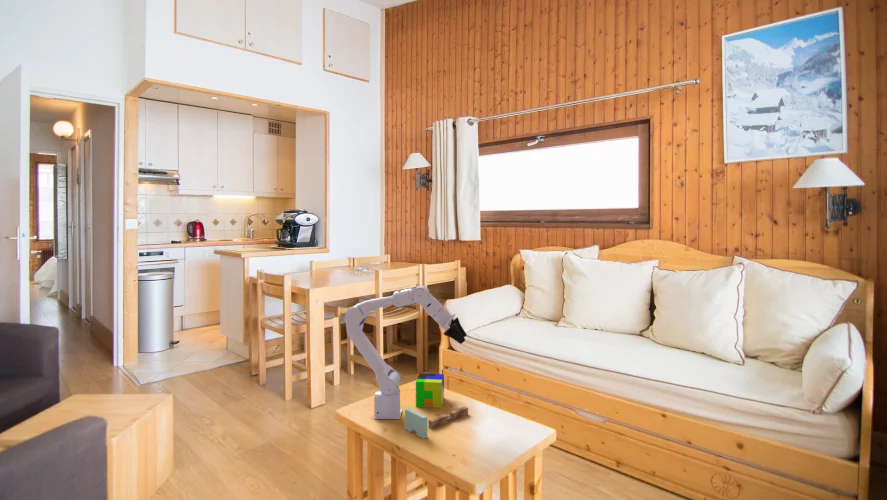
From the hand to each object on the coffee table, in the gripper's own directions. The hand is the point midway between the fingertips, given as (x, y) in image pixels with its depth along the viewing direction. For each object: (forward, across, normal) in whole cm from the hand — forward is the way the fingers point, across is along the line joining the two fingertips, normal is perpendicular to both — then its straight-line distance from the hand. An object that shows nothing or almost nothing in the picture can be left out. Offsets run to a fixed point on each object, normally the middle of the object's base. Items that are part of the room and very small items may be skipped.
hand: (464, 339), depth 168 cm
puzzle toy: (+11, +14, +31) cm, 36 cm away
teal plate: (+10, -13, +32) cm, 36 cm away
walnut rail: (+18, -2, +25) cm, 30 cm away
